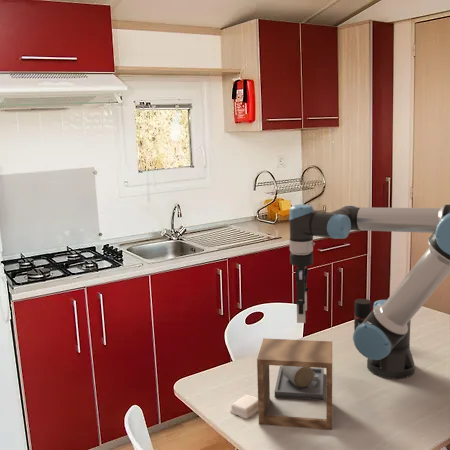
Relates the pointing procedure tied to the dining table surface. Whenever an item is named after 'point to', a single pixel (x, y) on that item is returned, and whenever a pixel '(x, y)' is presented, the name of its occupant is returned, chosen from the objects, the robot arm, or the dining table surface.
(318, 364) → the wooden cube shelf
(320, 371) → the tray
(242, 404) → the soap
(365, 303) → the deodorant
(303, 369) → the ceramic mug
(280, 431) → the dining table surface
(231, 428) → the dining table surface
